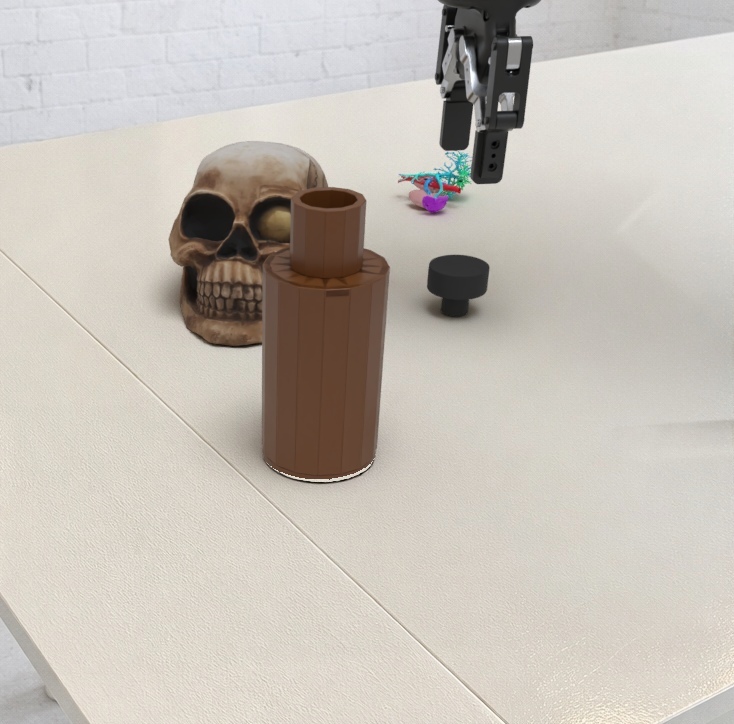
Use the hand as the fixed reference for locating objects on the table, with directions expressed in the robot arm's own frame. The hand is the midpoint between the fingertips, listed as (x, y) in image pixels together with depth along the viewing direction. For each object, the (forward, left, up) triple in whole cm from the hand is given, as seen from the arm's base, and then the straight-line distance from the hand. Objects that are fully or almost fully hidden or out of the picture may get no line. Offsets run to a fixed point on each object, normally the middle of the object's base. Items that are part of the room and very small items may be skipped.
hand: (468, 165), depth 86 cm
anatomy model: (-5, -27, -12) cm, 30 cm away
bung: (0, 0, -12) cm, 12 cm away
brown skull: (+16, -5, -12) cm, 21 cm away
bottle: (+15, +21, -12) cm, 28 cm away
